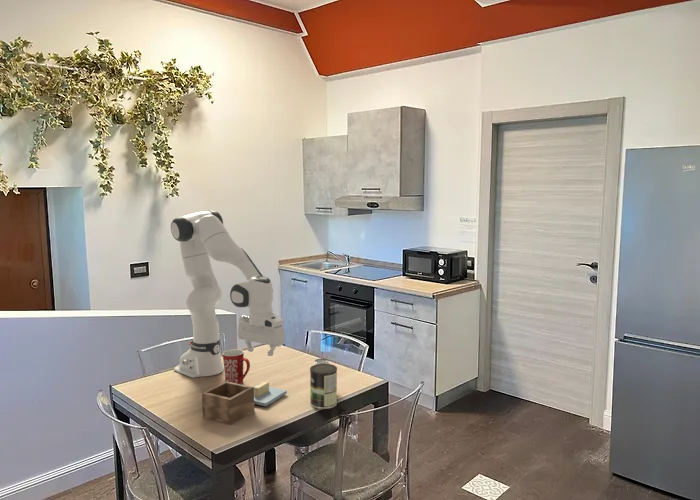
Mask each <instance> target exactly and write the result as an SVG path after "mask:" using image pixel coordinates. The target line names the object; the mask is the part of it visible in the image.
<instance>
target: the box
mask: <svg viewBox="0 0 700 500" xmlns="http://www.w3.org/2000/svg"><path fill="white" fill-rule="evenodd" d="M201 405H202V407H201V408H202V418H204V419H209V420H212V421H215V422H220V423H223V424H227V425H230V426H232V425H233V424H235V423H236V422H238V421H239V420H241V419H242V418H245V417H246V416H248V415H250V414H251V413H253V412H254V411H255V404H254V386H249V385H245V384H237V383H232V382H228V381H226V382H225V381H224V382H222V383H220V384H218V385H215V386H214V387H212V388H209V389H207V390H205V391H203V392H201Z"/></svg>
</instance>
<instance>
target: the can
mask: <svg viewBox="0 0 700 500" xmlns="http://www.w3.org/2000/svg"><path fill="white" fill-rule="evenodd" d="M317 364H330V361H329V359H327V358H316V359H315V360H314V363H313V365H317Z"/></svg>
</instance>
